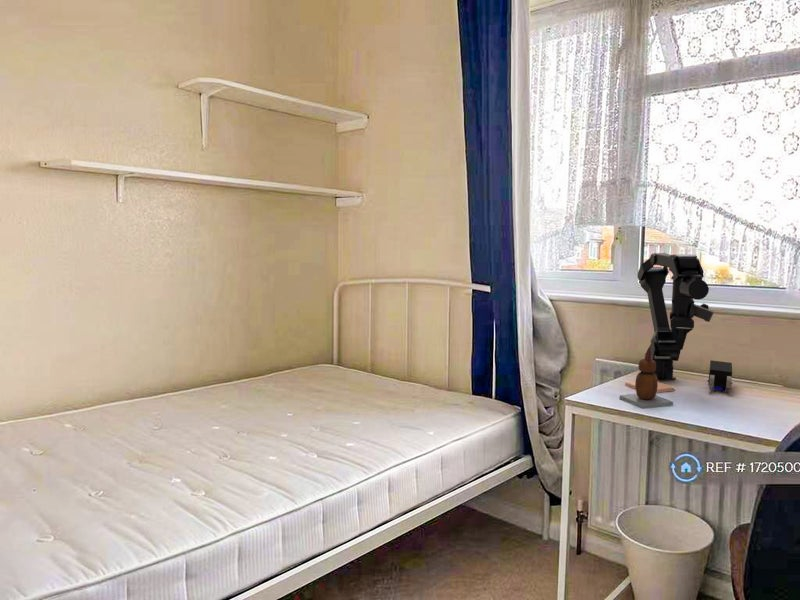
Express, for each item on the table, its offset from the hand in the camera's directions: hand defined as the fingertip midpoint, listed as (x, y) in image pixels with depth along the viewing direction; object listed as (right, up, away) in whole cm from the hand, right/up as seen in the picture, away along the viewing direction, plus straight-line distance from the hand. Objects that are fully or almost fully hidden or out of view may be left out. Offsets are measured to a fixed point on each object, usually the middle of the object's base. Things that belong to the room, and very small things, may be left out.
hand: (679, 346), depth 184 cm
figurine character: (+13, -13, +1) cm, 18 cm away
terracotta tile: (-8, -13, +2) cm, 16 cm away
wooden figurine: (-15, -14, -12) cm, 24 cm away
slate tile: (-16, -15, -12) cm, 25 cm away
